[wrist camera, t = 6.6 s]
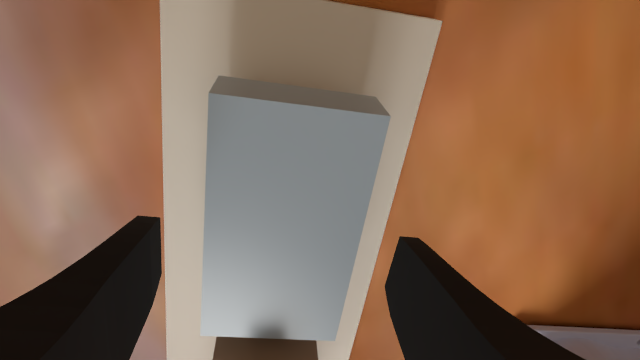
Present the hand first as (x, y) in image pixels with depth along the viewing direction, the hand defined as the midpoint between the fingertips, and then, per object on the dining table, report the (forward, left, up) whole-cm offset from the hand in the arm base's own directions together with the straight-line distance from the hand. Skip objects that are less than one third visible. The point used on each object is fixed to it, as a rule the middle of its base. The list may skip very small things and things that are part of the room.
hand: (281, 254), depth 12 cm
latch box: (0, +5, -5) cm, 7 cm away
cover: (0, 0, -3) cm, 3 cm away
